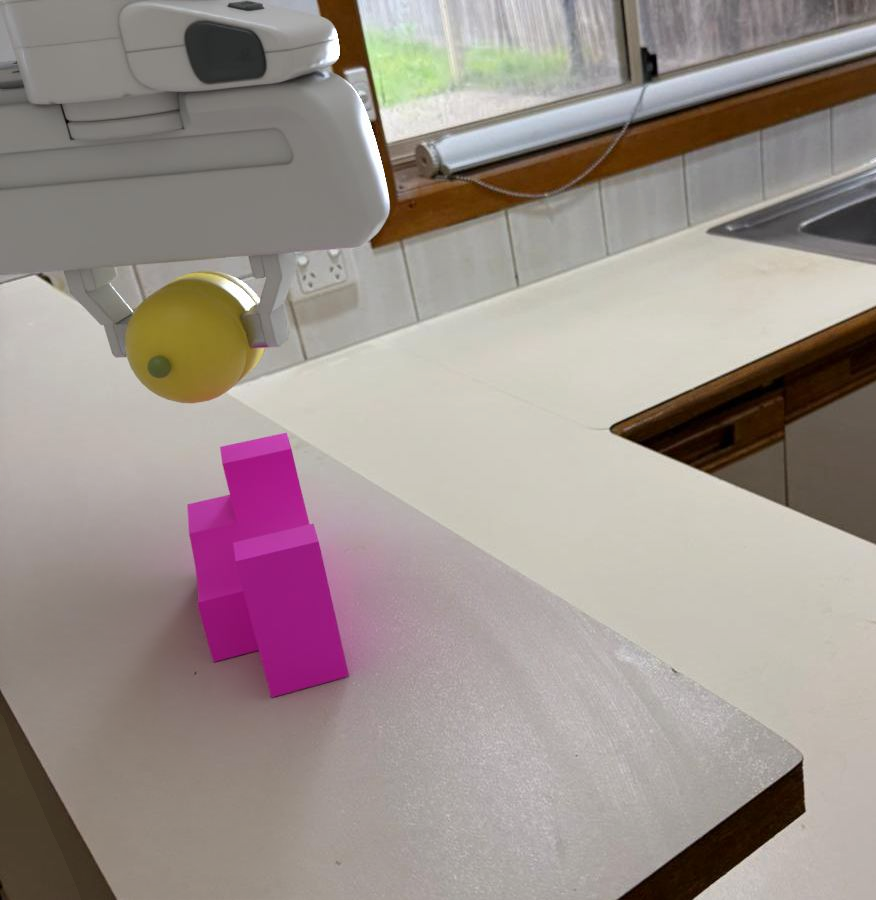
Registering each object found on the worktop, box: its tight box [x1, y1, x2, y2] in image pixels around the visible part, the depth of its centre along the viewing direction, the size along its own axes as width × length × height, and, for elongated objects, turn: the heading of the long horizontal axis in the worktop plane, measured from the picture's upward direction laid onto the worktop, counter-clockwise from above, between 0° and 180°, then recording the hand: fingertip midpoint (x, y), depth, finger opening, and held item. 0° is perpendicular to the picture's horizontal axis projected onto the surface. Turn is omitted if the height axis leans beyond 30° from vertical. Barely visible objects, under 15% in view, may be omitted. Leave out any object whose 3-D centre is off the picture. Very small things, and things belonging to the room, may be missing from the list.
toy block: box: [186, 432, 350, 699], centre depth 60 cm, size 15×6×8 cm, turn 20°
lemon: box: [125, 270, 267, 404], centre depth 55 cm, size 10×6×6 cm, turn 174°
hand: (203, 349), depth 55 cm, fingers closed on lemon, 5 cm apart
